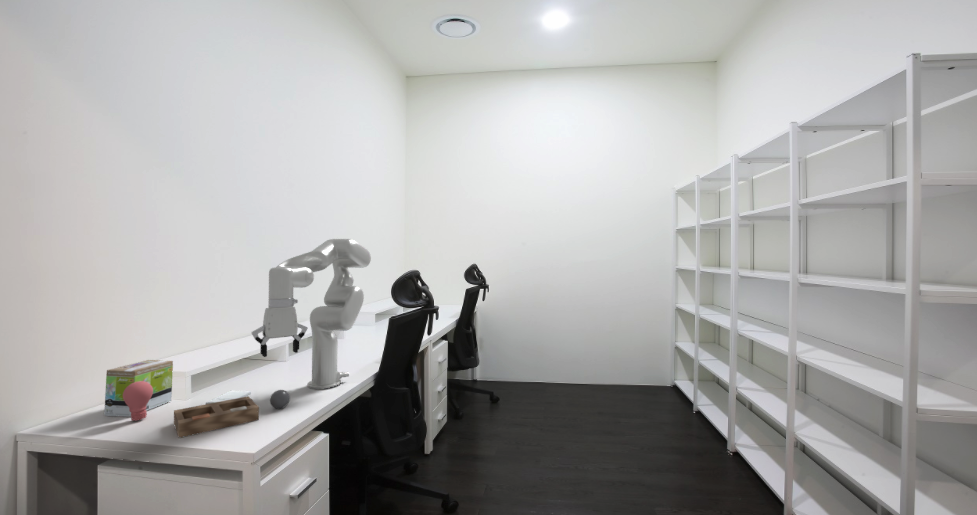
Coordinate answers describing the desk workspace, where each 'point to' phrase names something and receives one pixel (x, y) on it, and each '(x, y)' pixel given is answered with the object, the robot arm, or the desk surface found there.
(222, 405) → the socket block
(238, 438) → the desk surface
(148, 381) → the tea box
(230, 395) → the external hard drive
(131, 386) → the light bulb
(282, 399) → the dark grey ball
